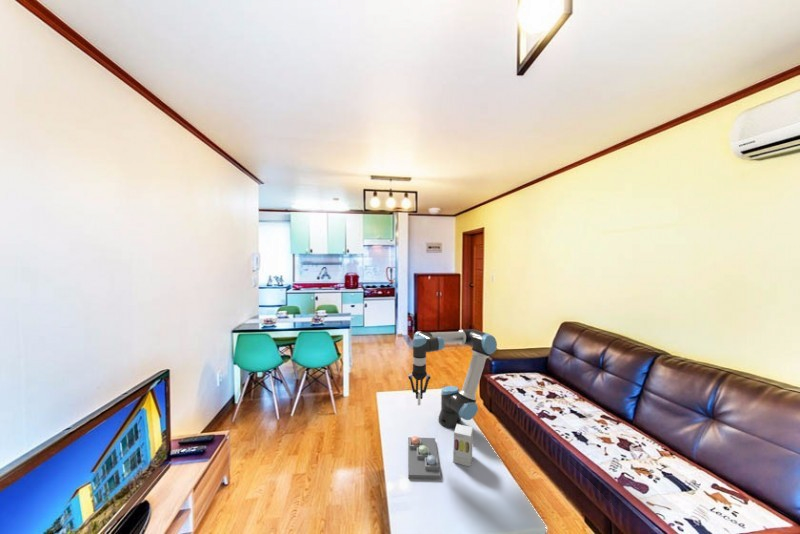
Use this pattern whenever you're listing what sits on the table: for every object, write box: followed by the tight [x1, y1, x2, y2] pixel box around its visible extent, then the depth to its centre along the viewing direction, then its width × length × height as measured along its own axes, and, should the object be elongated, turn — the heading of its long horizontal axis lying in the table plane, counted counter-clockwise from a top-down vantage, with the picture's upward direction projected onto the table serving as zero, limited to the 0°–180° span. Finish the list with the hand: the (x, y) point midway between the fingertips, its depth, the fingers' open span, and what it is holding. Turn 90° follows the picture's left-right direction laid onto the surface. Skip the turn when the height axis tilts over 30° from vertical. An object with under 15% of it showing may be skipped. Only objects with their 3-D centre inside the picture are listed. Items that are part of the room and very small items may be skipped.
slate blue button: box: [427, 455, 436, 465], centre depth 154 cm, size 4×4×4 cm
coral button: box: [411, 435, 420, 445], centre depth 171 cm, size 4×4×4 cm
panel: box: [407, 436, 441, 480], centre depth 163 cm, size 16×30×4 cm, turn 179°
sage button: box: [419, 445, 427, 455], centre depth 163 cm, size 4×4×4 cm
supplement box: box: [452, 424, 474, 467], centre depth 162 cm, size 10×9×17 cm
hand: (419, 403), depth 170 cm, fingers closed
